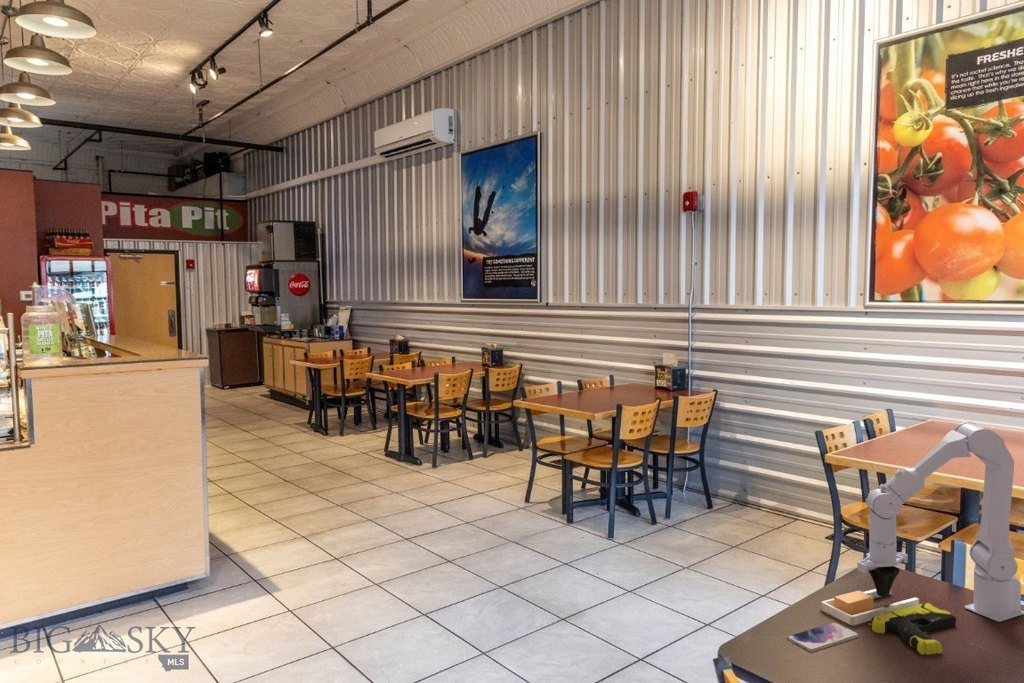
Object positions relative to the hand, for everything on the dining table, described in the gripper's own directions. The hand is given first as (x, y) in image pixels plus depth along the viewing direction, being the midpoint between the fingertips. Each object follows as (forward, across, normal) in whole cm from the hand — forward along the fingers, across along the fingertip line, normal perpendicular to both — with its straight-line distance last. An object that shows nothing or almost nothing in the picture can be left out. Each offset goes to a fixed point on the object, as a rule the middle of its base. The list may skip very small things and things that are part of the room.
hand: (882, 595), depth 163 cm
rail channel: (+2, -1, 0) cm, 3 cm away
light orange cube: (+2, +8, 0) cm, 8 cm away
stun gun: (+3, +4, +14) cm, 14 cm away
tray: (+2, +10, 0) cm, 10 cm away
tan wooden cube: (+2, +12, 0) cm, 12 cm away
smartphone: (+3, +25, +5) cm, 26 cm away
